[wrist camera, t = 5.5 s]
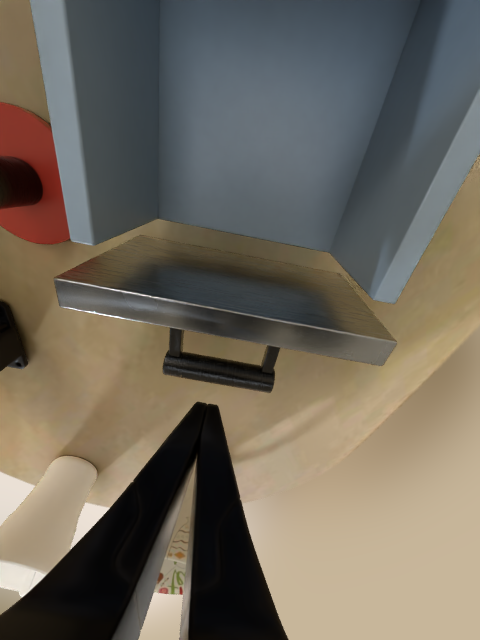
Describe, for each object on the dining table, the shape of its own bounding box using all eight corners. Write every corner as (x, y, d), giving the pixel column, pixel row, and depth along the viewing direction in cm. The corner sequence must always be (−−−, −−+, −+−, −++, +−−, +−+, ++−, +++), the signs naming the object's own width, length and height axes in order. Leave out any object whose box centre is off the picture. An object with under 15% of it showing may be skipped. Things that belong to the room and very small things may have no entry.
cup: (47, 480, 33) (-28, 589, 24) (37, 439, 28) (-61, 557, 19) (115, 493, 33) (65, 604, 25) (116, 456, 29) (55, 576, 20)
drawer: (309, 350, 18) (335, 442, 12) (142, 320, 18) (79, 398, 12) (469, -45, 9) (969, -567, 3) (129, -129, 9) (-235, -990, 2)
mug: (220, 423, 24) (199, 557, 16) (239, 489, 31) (232, 611, 22) (141, 426, 26) (82, 554, 17) (175, 489, 32) (144, 606, 23)
